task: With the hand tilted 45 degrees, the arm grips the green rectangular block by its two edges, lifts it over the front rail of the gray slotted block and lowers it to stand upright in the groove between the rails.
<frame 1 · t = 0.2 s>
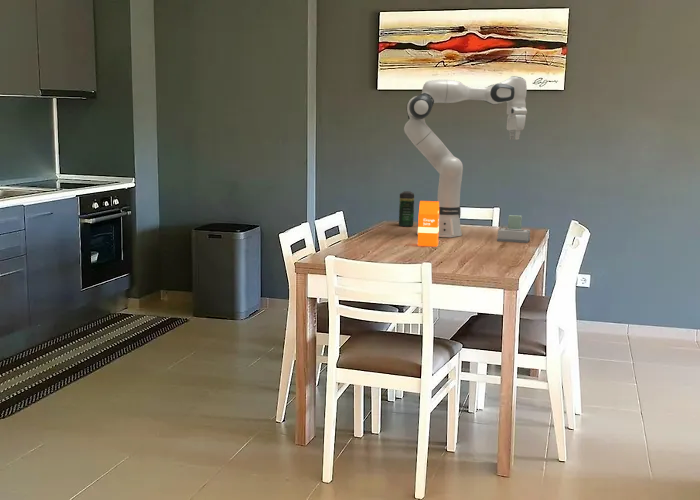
hand: (514, 139, 376), 47 cm above the table, tool pointing down, fingers open, 8 cm apart
gray slotted block: (513, 240, 368), on the table
green rectangular block: (514, 238, 376), on the table
orange juice: (428, 245, 353), on the table
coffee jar: (406, 226, 415), on the table
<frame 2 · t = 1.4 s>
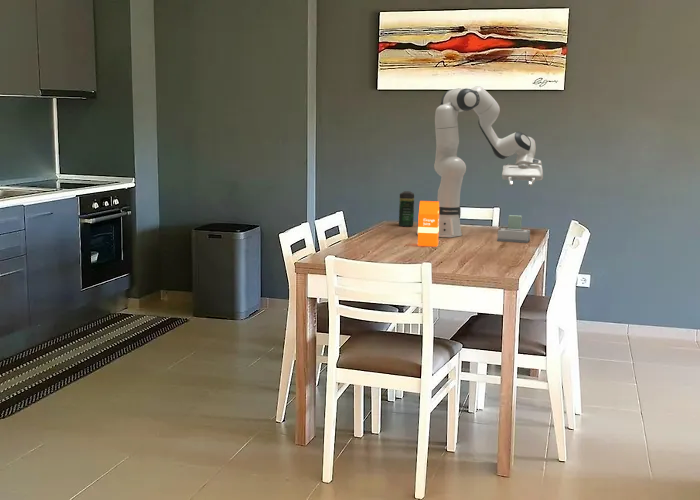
hand: (520, 185, 383), 25 cm above the table, tool tilted 45°, fingers open, 8 cm apart
nothing on the table moved.
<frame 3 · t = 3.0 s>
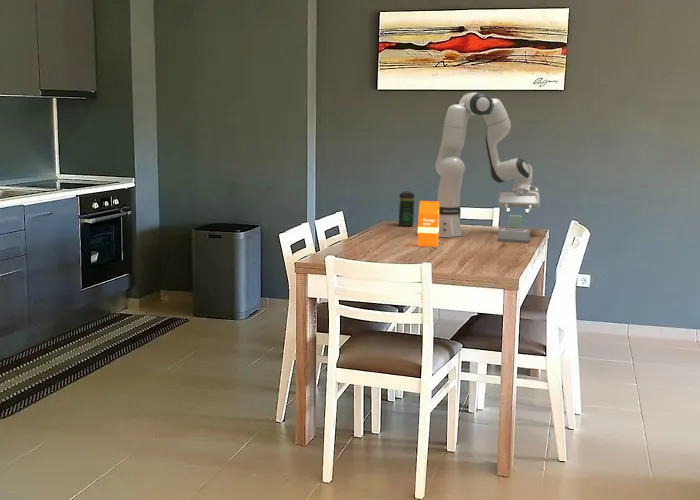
hand: (517, 213, 380), 12 cm above the table, tool tilted 45°, fingers open, 8 cm apart
nothing on the table moved.
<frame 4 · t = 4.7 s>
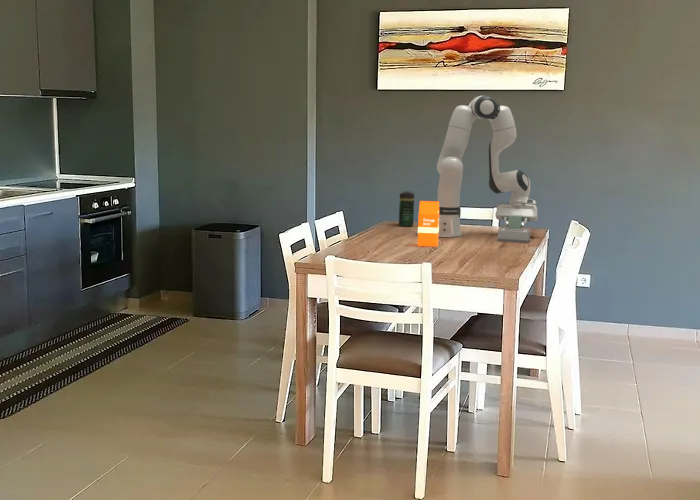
hand: (514, 226, 374), 6 cm above the table, tool tilted 45°, fingers closed on green rectangular block, 6 cm apart
green rectangular block: (514, 238, 376), on the table, touching gripper
everything else where it was.
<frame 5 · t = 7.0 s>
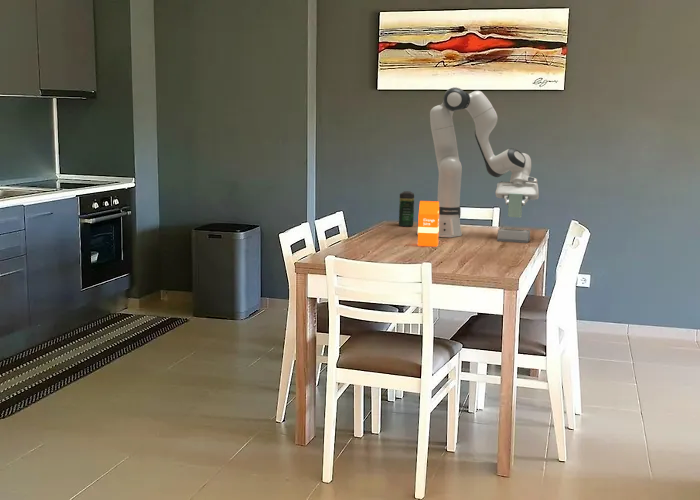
hand: (515, 204, 365), 17 cm above the table, tool tilted 45°, fingers closed on green rectangular block, 6 cm apart
green rectangular block: (514, 216, 366), point 11 cm above the table, touching gripper
everything else where it was.
when the fingers open (8 cm above the table, at t = 9.6 s): green rectangular block drops 1 cm, resting on gray slotted block.
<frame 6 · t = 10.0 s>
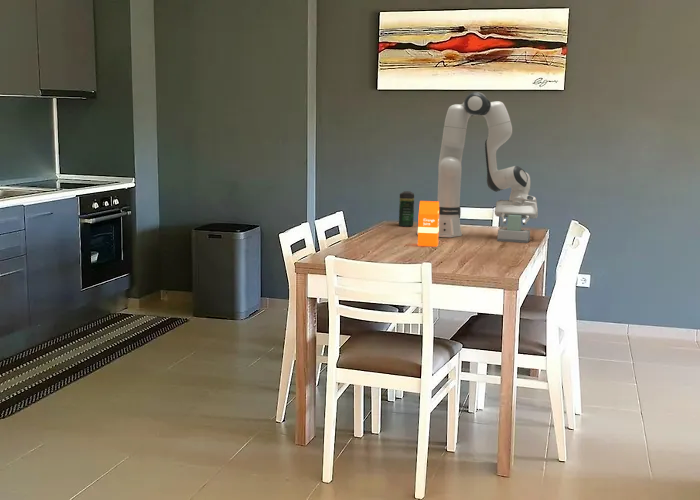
hand: (514, 223, 366), 8 cm above the table, tool tilted 45°, fingers open, 8 cm apart
green rectangular block: (513, 238, 368), point 1 cm above the table, touching gray slotted block
everything else where it was.
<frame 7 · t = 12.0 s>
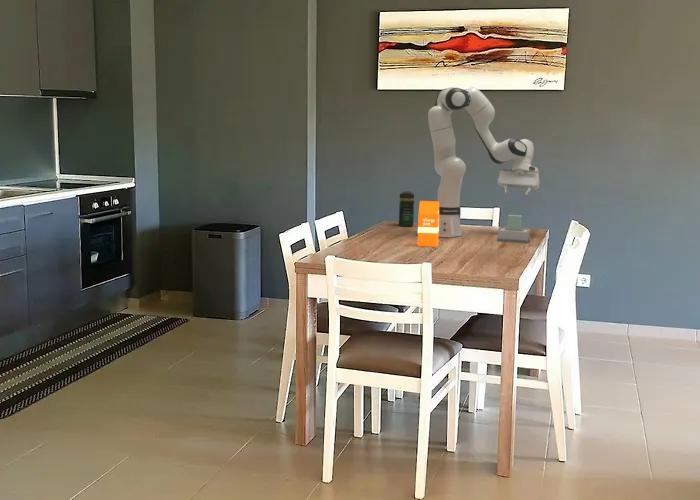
hand: (516, 194, 379), 21 cm above the table, tool tilted 35°, fingers open, 8 cm apart
nothing on the table moved.
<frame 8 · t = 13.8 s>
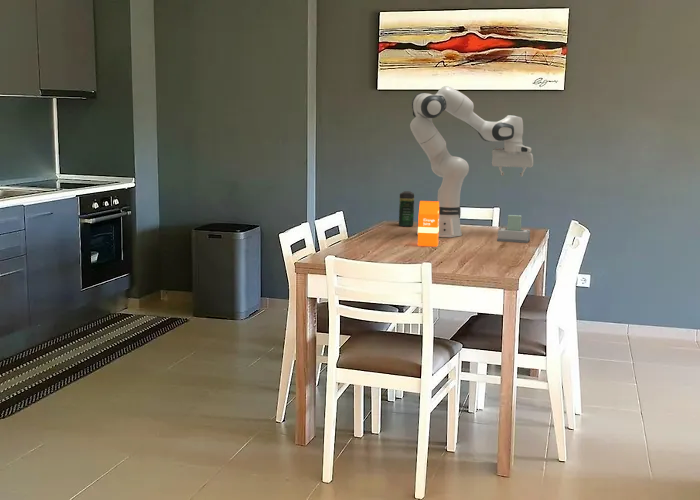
hand: (511, 176, 385), 29 cm above the table, tool pointing down, fingers open, 8 cm apart
nothing on the table moved.
at the end: green rectangular block 0.0 cm from the gray slotted block (horizontally); green rectangular block point 1.0 cm above the table; green rectangular block tilted 0° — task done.
